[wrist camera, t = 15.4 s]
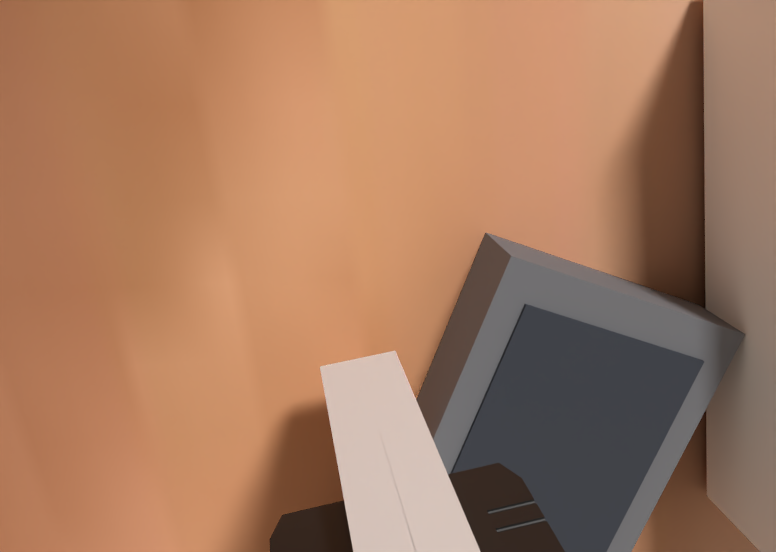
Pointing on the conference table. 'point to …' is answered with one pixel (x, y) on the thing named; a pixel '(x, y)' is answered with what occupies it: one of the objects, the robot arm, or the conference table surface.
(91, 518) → the conference table surface
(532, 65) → the conference table surface
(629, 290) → the phone
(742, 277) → the outlet board
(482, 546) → the robot arm
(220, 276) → the conference table surface
